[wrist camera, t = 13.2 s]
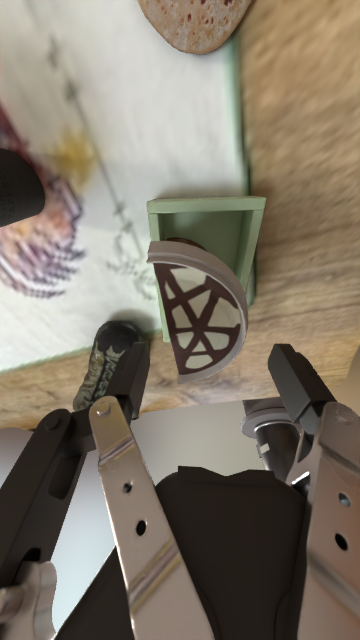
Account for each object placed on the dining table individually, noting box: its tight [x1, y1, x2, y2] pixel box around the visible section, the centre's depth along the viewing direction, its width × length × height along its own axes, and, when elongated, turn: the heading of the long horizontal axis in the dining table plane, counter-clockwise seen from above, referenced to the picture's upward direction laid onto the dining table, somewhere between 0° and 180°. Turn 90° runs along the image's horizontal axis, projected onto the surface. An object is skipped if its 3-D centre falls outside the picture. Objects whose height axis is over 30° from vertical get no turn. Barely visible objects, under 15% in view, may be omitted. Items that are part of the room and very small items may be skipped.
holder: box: [147, 196, 266, 342], centre depth 19 cm, size 15×9×4 cm, turn 2°
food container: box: [146, 237, 248, 384], centre depth 16 cm, size 12×6×10 cm, turn 8°
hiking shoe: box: [73, 321, 149, 412], centre depth 27 cm, size 8×21×9 cm, turn 154°
